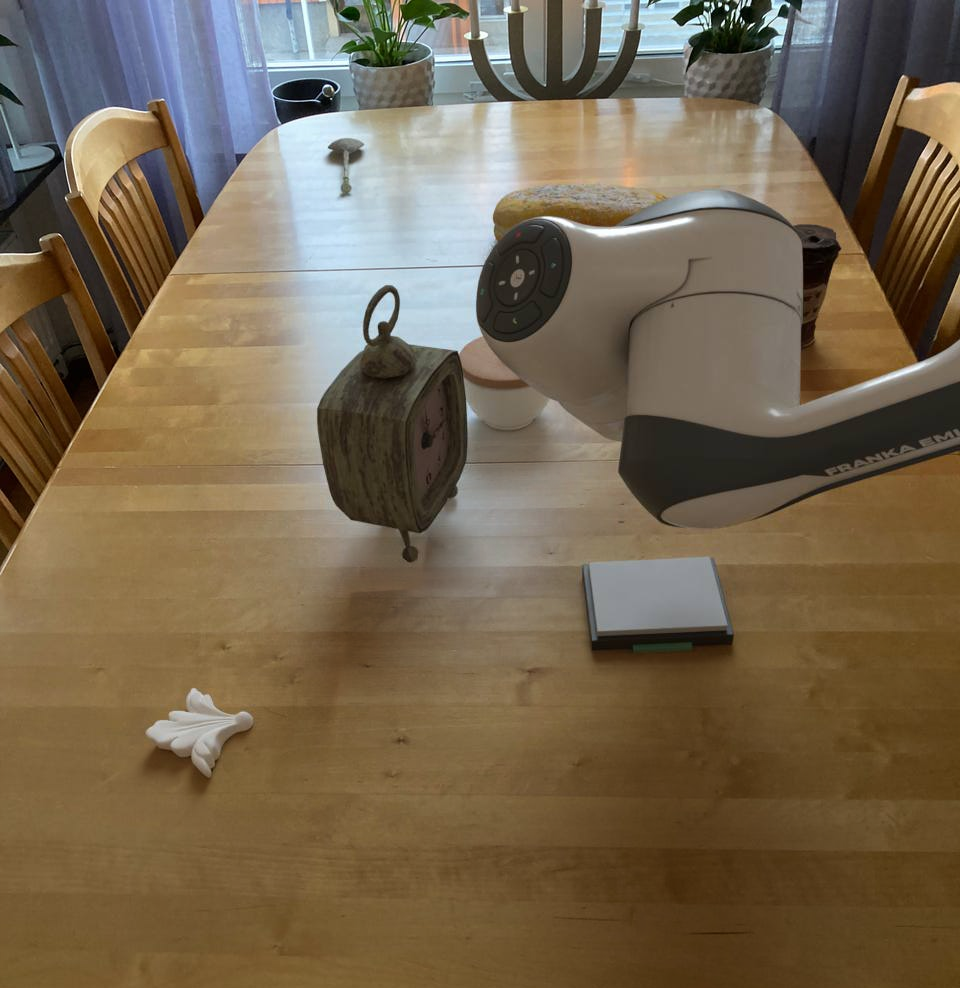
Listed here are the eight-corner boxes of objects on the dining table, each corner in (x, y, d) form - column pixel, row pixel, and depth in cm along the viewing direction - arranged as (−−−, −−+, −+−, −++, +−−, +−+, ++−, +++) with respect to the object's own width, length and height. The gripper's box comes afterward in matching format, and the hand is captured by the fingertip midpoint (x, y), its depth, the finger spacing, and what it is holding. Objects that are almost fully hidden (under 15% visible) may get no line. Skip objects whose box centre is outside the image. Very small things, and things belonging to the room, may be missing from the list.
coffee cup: (830, 355, 121) (852, 249, 112) (760, 358, 121) (776, 253, 112) (814, 320, 127) (833, 217, 118) (747, 323, 127) (762, 221, 118)
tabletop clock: (420, 577, 96) (388, 339, 79) (336, 559, 99) (287, 325, 81) (473, 489, 106) (455, 259, 88) (395, 476, 108) (362, 249, 91)
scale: (710, 582, 94) (714, 552, 91) (730, 663, 86) (736, 633, 84) (581, 588, 94) (582, 558, 91) (591, 669, 87) (592, 640, 84)
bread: (669, 271, 139) (674, 213, 133) (484, 261, 144) (481, 206, 138) (678, 230, 148) (683, 175, 142) (503, 223, 153) (501, 169, 148)
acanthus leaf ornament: (210, 781, 80) (203, 766, 79) (141, 756, 83) (134, 741, 81) (261, 714, 85) (256, 700, 84) (195, 692, 87) (189, 678, 86)
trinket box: (506, 453, 110) (502, 378, 103) (443, 416, 116) (436, 342, 109) (575, 415, 115) (576, 340, 108) (511, 381, 121) (509, 308, 114)
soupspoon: (366, 149, 181) (330, 154, 181) (363, 129, 179) (326, 134, 179) (365, 191, 165) (326, 196, 165) (361, 169, 163) (322, 175, 163)
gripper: (493, 369, 75) (573, 423, 86) (732, 467, 64) (785, 513, 76) (530, 290, 74) (606, 355, 86) (778, 376, 63) (825, 437, 75)
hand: (692, 430), depth 81 cm, fingers closed on tumbler, 6 cm apart
